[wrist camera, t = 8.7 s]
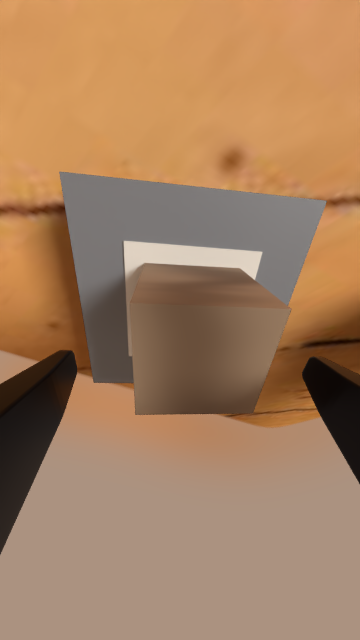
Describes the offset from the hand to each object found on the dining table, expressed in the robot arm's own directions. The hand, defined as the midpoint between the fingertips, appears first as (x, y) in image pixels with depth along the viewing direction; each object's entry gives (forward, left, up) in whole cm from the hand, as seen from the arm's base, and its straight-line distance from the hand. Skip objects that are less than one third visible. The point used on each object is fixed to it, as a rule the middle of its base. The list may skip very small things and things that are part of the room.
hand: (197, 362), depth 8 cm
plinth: (0, 0, -9) cm, 9 cm away
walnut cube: (0, 0, -5) cm, 5 cm away
